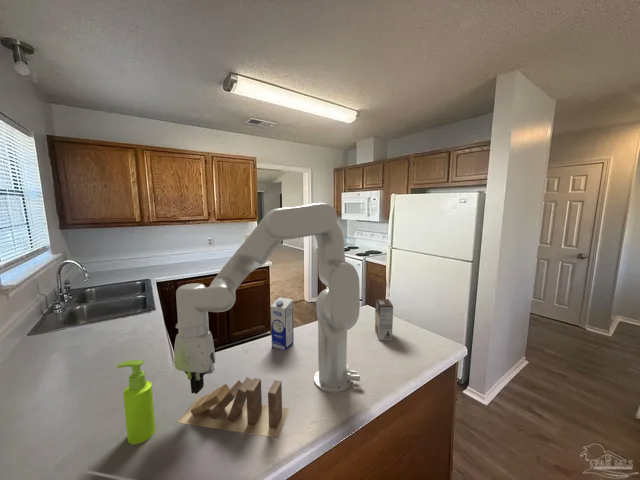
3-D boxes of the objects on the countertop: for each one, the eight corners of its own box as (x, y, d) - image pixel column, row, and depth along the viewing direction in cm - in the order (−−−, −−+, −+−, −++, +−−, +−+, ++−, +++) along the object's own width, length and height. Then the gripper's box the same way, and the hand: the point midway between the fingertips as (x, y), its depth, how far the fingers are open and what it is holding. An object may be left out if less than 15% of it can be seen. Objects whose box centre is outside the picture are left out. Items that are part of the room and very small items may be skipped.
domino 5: (282, 414, 73) (281, 381, 72) (276, 428, 69) (275, 393, 67) (275, 413, 74) (274, 380, 73) (268, 427, 69) (267, 392, 68)
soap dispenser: (132, 427, 70) (126, 356, 68) (159, 425, 70) (154, 355, 68) (117, 446, 64) (110, 369, 62) (147, 444, 64) (141, 368, 62)
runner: (289, 409, 76) (289, 408, 76) (278, 439, 66) (278, 437, 66) (199, 397, 81) (199, 396, 81) (176, 423, 71) (176, 422, 71)
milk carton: (294, 343, 114) (293, 298, 112) (285, 350, 108) (284, 304, 106) (280, 340, 117) (279, 296, 115) (271, 347, 111) (270, 301, 109)
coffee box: (374, 331, 125) (375, 298, 123) (387, 331, 125) (388, 298, 123) (378, 340, 116) (379, 305, 114) (392, 340, 116) (393, 305, 114)
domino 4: (261, 411, 74) (261, 378, 73) (254, 425, 70) (253, 390, 68) (255, 410, 75) (254, 378, 74) (247, 424, 70) (246, 389, 69)
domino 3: (242, 409, 76) (253, 380, 74) (233, 422, 71) (245, 392, 69) (236, 405, 76) (247, 377, 74) (227, 419, 71) (238, 388, 69)
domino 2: (223, 406, 77) (243, 385, 75) (213, 419, 72) (235, 397, 70) (218, 401, 77) (238, 380, 75) (208, 414, 72) (229, 391, 70)
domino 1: (205, 403, 78) (230, 389, 76) (194, 416, 73) (220, 401, 71) (201, 398, 78) (226, 383, 76) (190, 410, 73) (216, 395, 71)
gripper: (159, 332, 70) (164, 396, 72) (210, 337, 68) (213, 402, 70) (179, 321, 78) (183, 379, 80) (225, 324, 75) (228, 384, 77)
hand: (197, 390), depth 75 cm, fingers closed
